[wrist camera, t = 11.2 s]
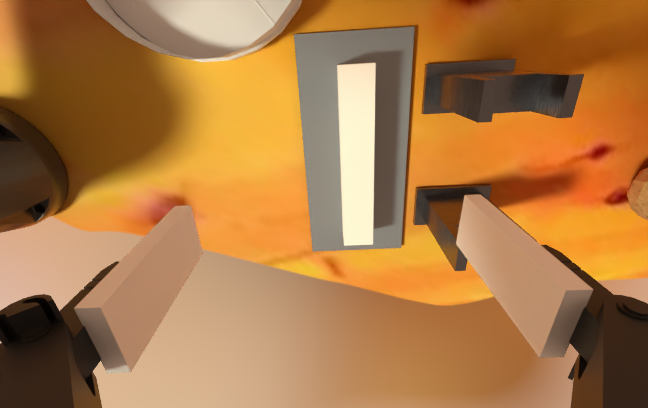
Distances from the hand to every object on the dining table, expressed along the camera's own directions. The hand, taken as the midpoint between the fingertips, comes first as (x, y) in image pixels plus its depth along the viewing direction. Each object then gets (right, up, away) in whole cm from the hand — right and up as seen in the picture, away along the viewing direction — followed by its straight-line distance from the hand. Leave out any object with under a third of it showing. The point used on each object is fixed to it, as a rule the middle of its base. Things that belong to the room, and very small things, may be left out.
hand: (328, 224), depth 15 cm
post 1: (+15, +14, +18) cm, 27 cm away
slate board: (+4, +7, +21) cm, 23 cm away
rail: (+3, +7, +21) cm, 22 cm away
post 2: (+16, +1, +24) cm, 29 cm away
